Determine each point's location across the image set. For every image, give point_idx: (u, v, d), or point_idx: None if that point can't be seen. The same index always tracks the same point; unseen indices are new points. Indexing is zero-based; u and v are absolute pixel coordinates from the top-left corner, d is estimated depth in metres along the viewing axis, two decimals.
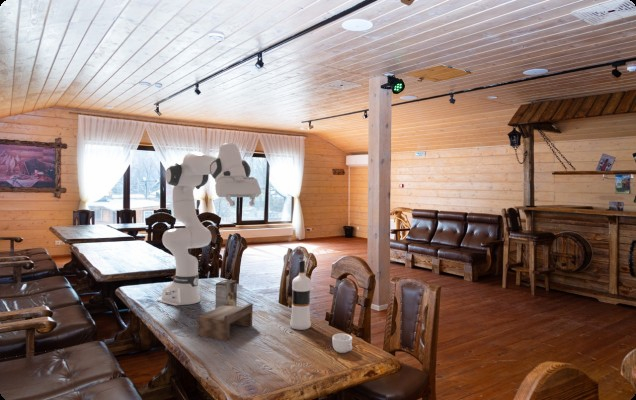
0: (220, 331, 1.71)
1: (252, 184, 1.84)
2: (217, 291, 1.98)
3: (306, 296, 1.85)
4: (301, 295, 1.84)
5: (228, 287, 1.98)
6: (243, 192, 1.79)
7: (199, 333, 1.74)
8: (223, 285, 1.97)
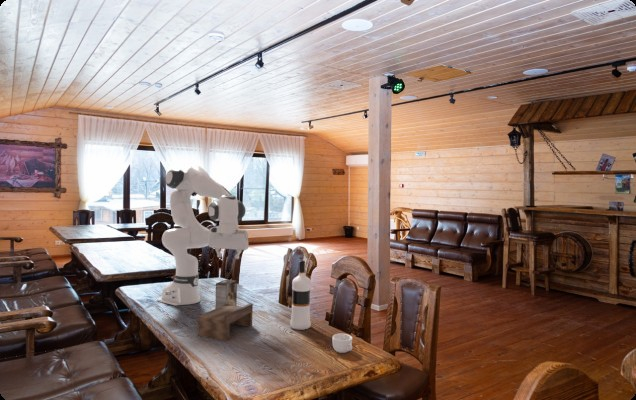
0: (220, 331, 1.71)
1: (238, 239, 1.97)
2: (217, 291, 1.98)
3: (306, 296, 1.85)
4: (301, 295, 1.84)
5: (228, 287, 1.98)
6: (227, 247, 1.99)
7: (199, 333, 1.74)
8: (223, 285, 1.97)
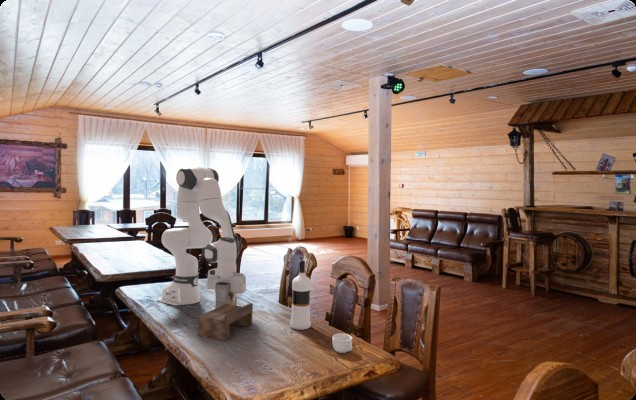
0: (220, 331, 1.71)
1: (236, 283, 1.98)
2: (217, 291, 1.98)
3: (306, 296, 1.85)
4: (301, 295, 1.84)
5: (228, 287, 1.98)
6: None
7: (199, 333, 1.74)
8: (223, 285, 1.97)
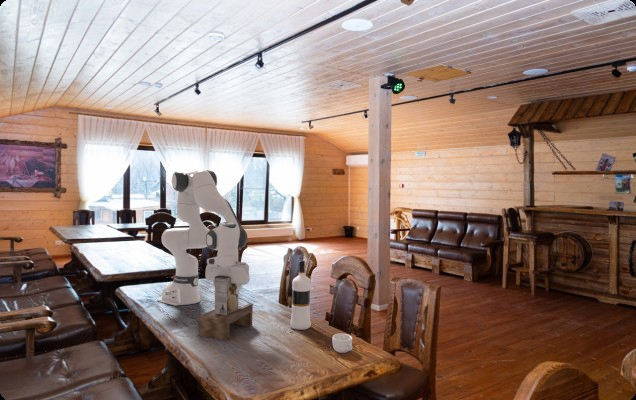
0: (220, 331, 1.71)
1: (238, 273, 1.77)
2: (216, 285, 1.77)
3: (306, 296, 1.85)
4: (301, 295, 1.84)
5: (228, 281, 1.77)
6: None
7: (199, 333, 1.74)
8: (223, 278, 1.76)
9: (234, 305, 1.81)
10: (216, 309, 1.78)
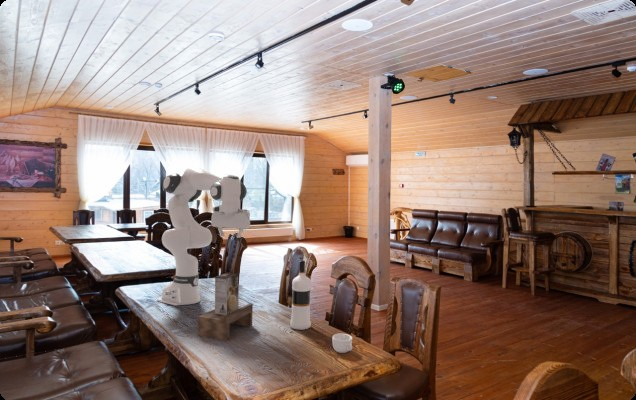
0: (220, 331, 1.71)
1: (240, 218, 2.01)
2: (217, 285, 1.77)
3: (306, 296, 1.85)
4: (301, 295, 1.84)
5: (229, 281, 1.77)
6: (229, 226, 2.03)
7: (199, 333, 1.74)
8: (223, 279, 1.76)
9: (234, 305, 1.81)
10: (216, 309, 1.78)
